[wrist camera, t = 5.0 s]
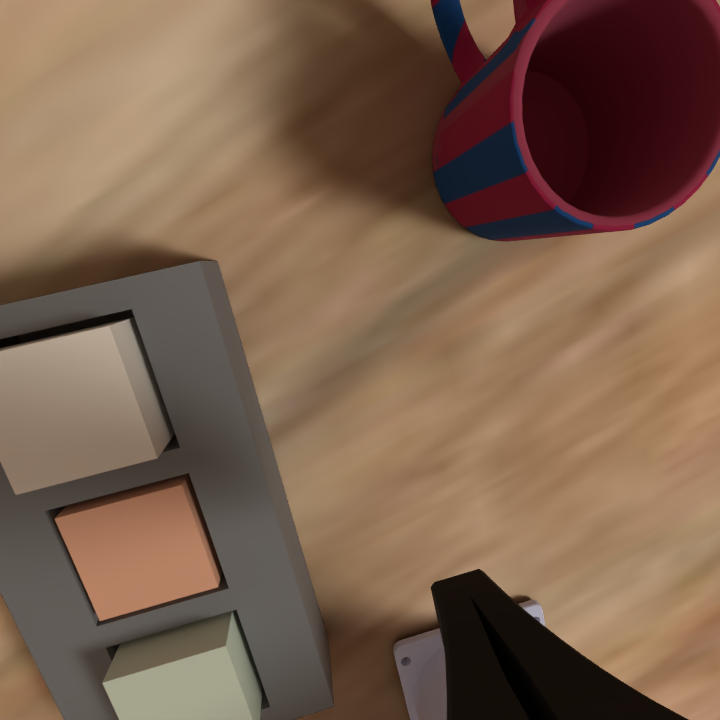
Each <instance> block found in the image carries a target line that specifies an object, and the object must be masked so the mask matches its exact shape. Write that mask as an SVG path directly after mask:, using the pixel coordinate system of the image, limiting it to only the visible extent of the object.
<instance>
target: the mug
mask: <svg viewBox="0 0 720 720" xmlns="http://www.w3.org/2000/svg"><path fill="white" fill-rule="evenodd" d="M513 4H514V15H515V22H516V24H515V26H514V28H513V29H512V31H511V33H510V35H509V37H508V38H507V39H506V40H505V41H504V42H503V43H502V44H501V46H500V47H499V48H498V49H497V50H496V51H495V52H494V53H493V54H492V55H491V56H490V57H489V58H488V59H487V60H486V59H485V58H484V56H483V55H482V53H481V52H480V50H479V49H478V47H477V45H476V44H475V42H474V40H473V38H472V36H471V34H470V31H469V29H468V26H467V24H466V21H465V18H464V15H463V12H462V8H461V5H460V1H459V0H431V5H432V10H433V14H434V18H435V21H436V25H437V28H438V31H439V34H440V37H441V40H442V42H443V44H444V47H445V49H446V52H447V54H448V57H449V59H450V61H451V63H452V66H453V68H454V71H455V72H456V74H457V76H458V77H459V79H460V81H461V82H462V83H461V86H460V89H459V90H458V91H457V93H456V94H455V95H454V96H453V97H452V99H451V100H450V102H449V103H448V105H447V106H446V108H445V110H444V112H443V114H442V116H441V118H440V121H439V123H438V126H437V129H436V133H435V137H434V142H433V152H432V162H433V173H434V178H435V183H436V187H437V189H438V192H439V194H440V197H441V199H442V201H443V203H444V204H445V206H446V208H447V209H448V211H449V212H450V213H451V215H452V216H453V217H454V218H455V219H456V220H457V221H458V222H459V223H460V224H461V225H462V226H464V227H465V228H466V229H468V230H469V231H471V232H473V233H475V234H476V235H478V236H480V237H484V238H487V239H490V240H496V241H516V240H527V239H538V238H549V237H560V236H571V235H581V234H592V233H603V232H614V231H624V230H632V229H636V228H639V227H642V226H646V225H649V224H651V223H653V222H655V221H657V220H659V219H661V218H663V217H665V216H667V215H669V214H670V213H671V212H673V211H674V210H676V209H677V208H678V207H680V206H681V205H682V204H684V203H685V202H686V201H687V200H688V199H689V198H690V197H691V196H692V195H693V194H694V193H695V192H696V191H697V190H698V189H699V188H700V186H701V185H702V184H703V182H704V181H705V180H706V178H707V177H708V176H709V174H710V173H711V171H712V170H713V168H714V166H715V164H716V163H717V161H718V159H719V157H720V6H719V5H718V3H717V1H716V0H513Z"/></svg>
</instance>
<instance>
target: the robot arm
mask: <svg viewBox="0 0 720 720" xmlns="http://www.w3.org/2000/svg"><path fill="white" fill-rule="evenodd" d="M431 591H432V596H433V600H434V605H435V609H436V614H437V619H438V623H439V628H438V629H435V630H432V631H428V632H425V633H422V634H419V635H415V636H412V637H409V638H406V639H403V640H400V641H398V642H396V643H395V644H394V647H393V653H394V657H395V661H396V665H397V669H398V673H399V677H400V681H401V685H402V689H403V693H404V697H405V701H406V705H407V709H408V713H409V717H410V720H688V719H686V718H684V717H683V716H681V715H679V714H677V713H675V712H673V711H671V710H670V709H668V708H666V707H664V706H662V705H660V704H659V703H657V702H655V701H653V700H652V699H650V698H648V697H647V696H645V695H643V694H642V693H640V692H638V691H637V690H635V689H633V688H632V687H630V686H628V685H627V684H625V683H624V682H622V681H620V680H619V679H617V678H616V677H614V676H613V675H611V674H610V673H608V672H606V671H605V670H603V669H602V668H600V667H599V666H598V665H596V664H595V663H593V662H592V661H590V660H589V659H587V658H586V657H585V656H583V655H582V654H580V653H579V652H578V651H576V650H575V649H574V648H572V647H571V646H570V645H568V644H567V643H565V642H564V641H563V640H561V639H560V638H559V637H558V636H556V635H555V634H554V633H552V632H551V631H550V630H549V629H547V628H546V627H545V622H544V615H543V609H542V607H541V605H540V604H539V603H538V602H537V601H535V600H529V601H526V602H523V603H519V604H517V603H516V602H515V601H514V600H513V599H512V598H511V597H510V596H508V595H507V594H506V593H505V592H504V591H503V590H502V589H501V588H500V587H499V586H498V585H497V584H496V583H495V582H493V581H492V580H491V579H490V578H489V577H488V576H487V575H486V574H485V573H484V572H483V571H482V570H480V569H477V570H474V571H470V572H467V573H464V574H460V575H457V576H454V577H450V578H447V579H444V580H440V581H437V582H434V583H433V585H432V586H431ZM534 617H535V618H534ZM405 657H408V658H406V659H403V658H405Z"/></svg>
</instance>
